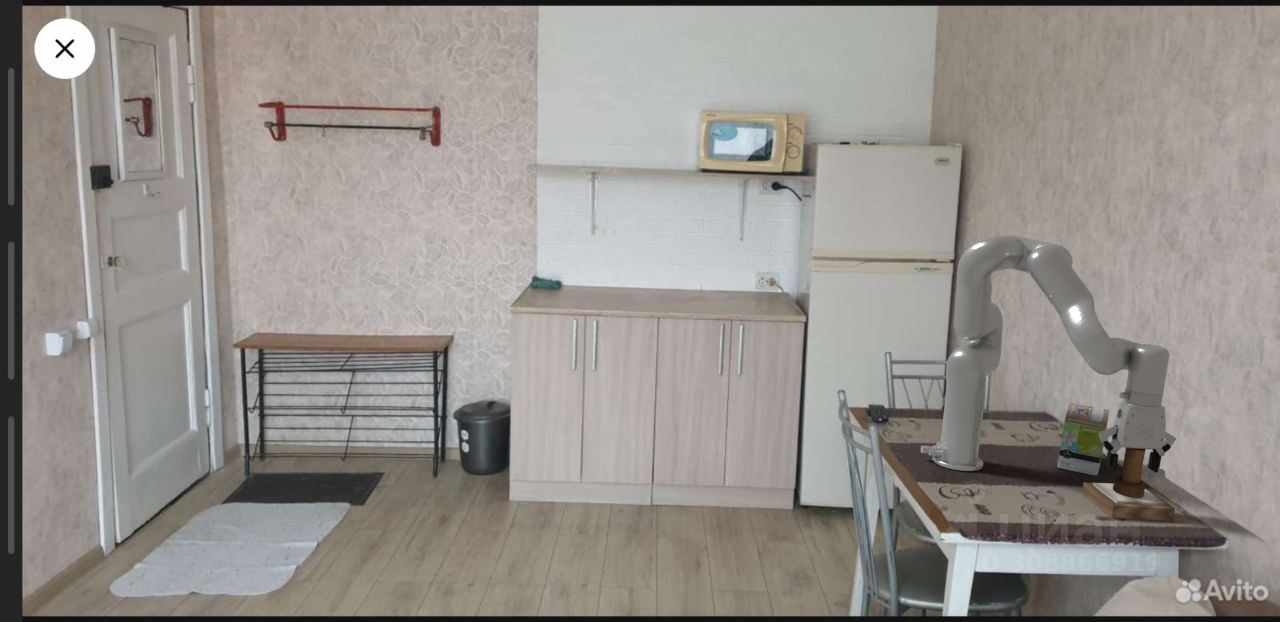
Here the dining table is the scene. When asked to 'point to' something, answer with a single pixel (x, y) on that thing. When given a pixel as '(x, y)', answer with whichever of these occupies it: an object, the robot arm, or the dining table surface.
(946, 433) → the robot arm
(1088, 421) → the tea box
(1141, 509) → the plinth
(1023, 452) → the dining table surface
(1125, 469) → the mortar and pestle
